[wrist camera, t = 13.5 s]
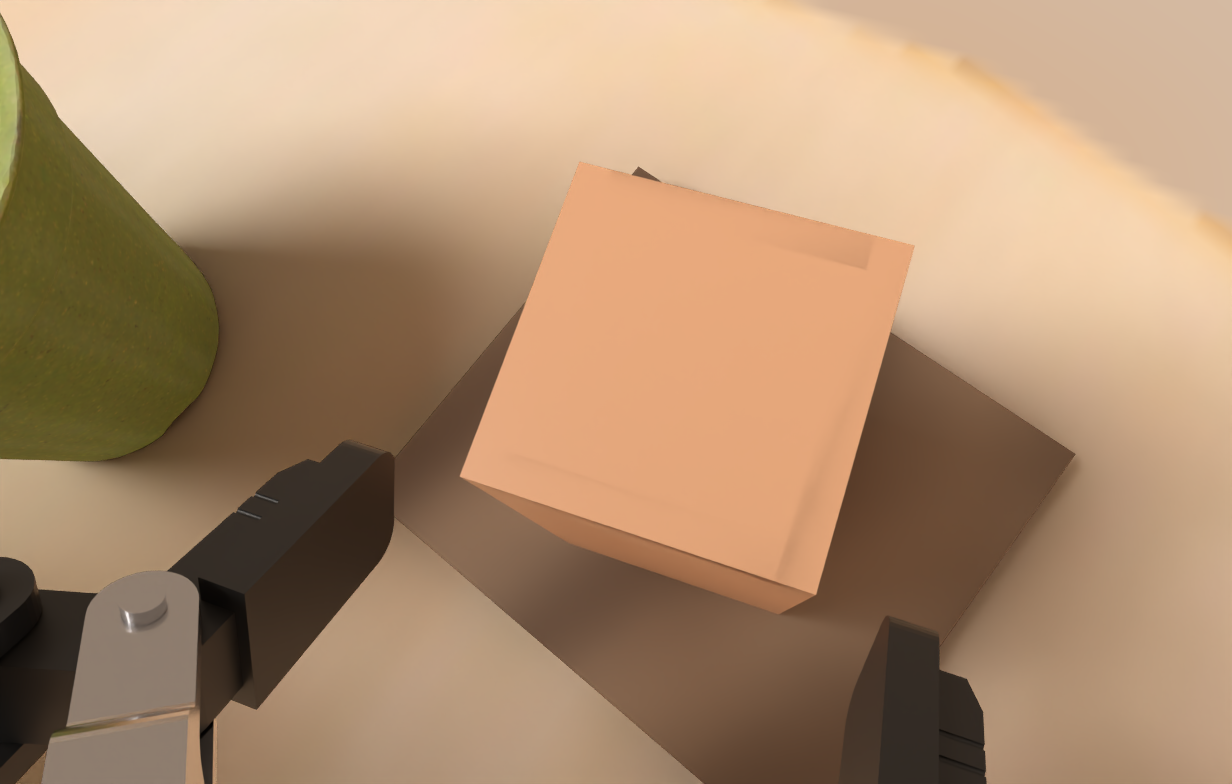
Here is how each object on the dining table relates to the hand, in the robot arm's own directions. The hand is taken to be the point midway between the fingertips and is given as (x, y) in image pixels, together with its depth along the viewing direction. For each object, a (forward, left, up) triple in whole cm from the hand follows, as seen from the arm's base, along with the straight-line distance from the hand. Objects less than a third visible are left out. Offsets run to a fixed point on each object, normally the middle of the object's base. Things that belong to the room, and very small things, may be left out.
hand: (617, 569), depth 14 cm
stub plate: (-1, +3, -10) cm, 11 cm away
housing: (-1, +3, -9) cm, 10 cm away
